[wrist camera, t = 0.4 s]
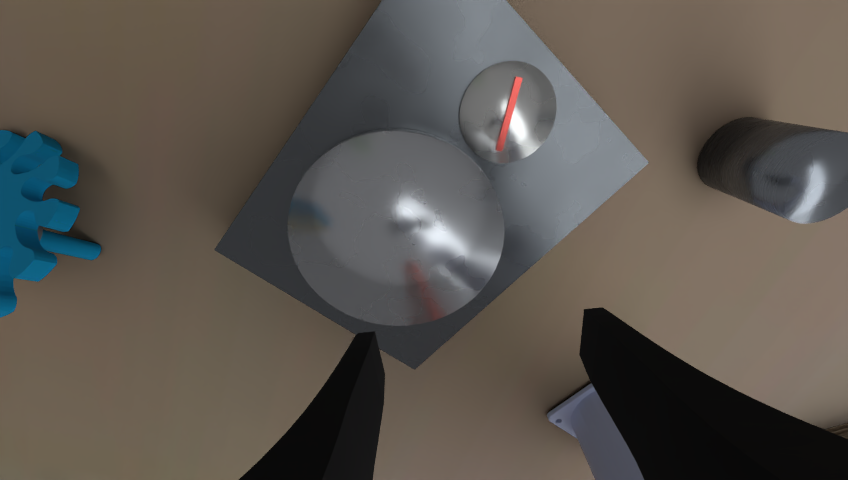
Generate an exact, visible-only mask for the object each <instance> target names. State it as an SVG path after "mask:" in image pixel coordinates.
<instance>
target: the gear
mask: <svg viewBox="0 0 848 480" xmlns="http://www.w3.org/2000/svg"><path fill="white" fill-rule="evenodd" d="M61 154H62V148H61V146H60V144H59V143H58V142H57V141H56V140H54V139H52V138H50V137H48V136H46V135H43V134H41V133H39V132H37V131H34V132H32V133H31V134H29V135H28V136H27V137H26V138H24V137H21V136H19V135H17V134H15V133H12V132H10V131H7V130H0V317H3V316H6V315H8V314H10V313H12V312H14V310H15V308H16V304H17V297H16V295H15V293H14V288H13V279H14V278H17V279H23V280H30V281H37V282H38V281H40V280H41V279H43V278H44V277H45V276H46V275H47V274H48V273H49V272H50V271H51V270H52V269H53V268H54V267H55V266H56V264H57V257H56V256H55V255H54V254H53V253H49V252H47V251H50V252H55V253H60V254H64V255H69V256H74V257H78V258H83V259H88V260H94V259H96V258H97V257H98V256H99V254H100V252H101V246H100V245H99V244H96V243H92V242H88V241H85V240H81V239H77V238H73V237H69V236H65V235H62V234H58V233H54V232H50V231H46V230H43V227H46V228H50V229H54V230H58V231H61V232H67V231H69V230H70V228H71V227H72V226H73V224H74V222H75V220H76V218H77V216H78V213H79V211H80V208H79V207H78V206H76V205H73V204H70V203H67V202H64V201H61V200H58V199H55V198H52V199H48V200H46V201H43V199H42V198H43V194H44V192H45V190H46V189H47V188H48V187H49V186H51V185H56V186H59V187H62V188H65V189H67V188H71V187H73V186H74V185H75V184H77V181H78V176H79V167H78V164H77V163H74V162H72V161H70V160H67V159H65V158H63V157H61V156H60V155H61ZM39 165H40V166H39ZM38 166H39V167H38ZM42 226H43V227H42Z"/></svg>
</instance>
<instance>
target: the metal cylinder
mask: <svg viewBox="0 0 848 480" xmlns="http://www.w3.org/2000/svg"><path fill="white" fill-rule="evenodd" d="M697 170H698V175H699V177H700V179H701V180H702V181H703V182H704V183H705V184H706V185H707V186H709V187H712V188H714V189H716V190H719V191H721V192H724V193H726V194H728V195H731V196H733V197H736V198H738V199H740V200H743V201H745V202H748V203H750V204H752V205H755V206H757V207H759V208H762V209H764V210H767V211H769V212H771V213H774V214H776V215H779V216H781V217H783V218H786V219H788V220H791V221H793V222H797V223H815V222H819V221H822V220H825V219H828V218H830V217H832V216H834V215H836V214H838V213H840V212H842V211H843V210H845V209H846V208H848V133H847V132H840V131H834V130H828V129H822V128H815V127H809V126H803V125H797V124H791V123H784V122H778V121H772V120H766V119H760V118H753V117H745V118H740V119H736V120H734V121H731V122H729V123H727V124H725V125H724V126H722V127H721V128H719V129H718V130H717V131H716V132H715V133H714V134H712V136H711V137H710V138H709V139H708V140H707V142H706V143H705V144H704V146H703V148H702V150H701V152H700V155H699V158H698V163H697Z"/></svg>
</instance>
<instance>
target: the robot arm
mask: <svg viewBox="0 0 848 480" xmlns="http://www.w3.org/2000/svg"><path fill="white" fill-rule="evenodd" d="M580 357H581V359H582V362H583V364H584V367H585V369H586V372H587V374H588V376H589V379H590V381H591V384H589V385H588V386H586V387H585V388H583V389H582V390H580V391H579V392H578V393H576V394H575V395H573V396H572V397H570V398H569V399H567V400H566V401H564V402H563V403H562V404H560V405H559V406H557V407H556V408H554V409H553V410H551V411H550V412H549V413H548V414H547V417H548V420H549V421H550V422H552V423H553V424H555V425H556V426H558V427H560V428H561V429H563V430H564V431H566V432H567V433H569V434H571V435H572V436H574V437H575V438H577V439H578V441H579V443H580V446H581V448H582V450H583V453H584V455H585V457H586V460H587V462H588V464H589V466H590V469H591V471H592V473H593V476H594V478H595V480H848V439H847V438H844V437H842V436H839V435H837V434H834V433H832V432H829V431H827V430H824V429H822V428H819V427H816V426H814V425H811V424H809V423H807V422H804V421H802V420H800V419H797V418H795V417H793V416H790V415H788V414H786V413H783V412H781V411H779V410H777V409H775V408H772V407H770V406H768V405H766V404H764V403H762V402H759V401H757V400H755V399H753V398H751V397H749V396H747V395H745V394H743V393H741V392H739V391H737V390H735V389H733V388H731V387H729V386H727V385H725V384H723V383H721V382H720V381H718V380H716V379H714V378H712V377H710V376H708V375H707V374H705V373H703V372H701V371H699V370H698V369H696V368H694V367H693V366H691V365H689V364H688V363H686V362H684V361H683V360H681V359H679V358H678V357H676V356H674V355H673V354H671V353H670V352H668V351H666V350H665V349H663V348H662V347H660V346H659V345H657V344H656V343H654V342H653V341H651V340H650V339H648V338H647V337H645V336H644V335H642V334H641V333H639V332H638V331H636V330H635V329H633V328H632V327H630V326H629V325H628V324H626V323H625V322H623V321H622V320H620V319H619V318H617V317H616V316H615V315H613V314H612V313H610V312H609V311H607V310H606V309H604V308H592V309H584V316H583V326H582V335H581V345H580ZM384 385H385V373H384V368H383V364H382V359H381V355H380V351H379V346H378V342H377V338H376V333H375V331H373V332H363V333H357V335H356V336H355V337H354V339H353V341H352V342H351V344H350V346H349V347H348V349H347V351H346V352H345V354H344V356H343V357H342V359H341V360H340V362H339V364H338V365H337V367H336V368H335V370H334V371H333V373H332V374H331V376H330V377H329V379H328V380H327V382H326V383H325V384H324V386H323V387H322V389H321V390H320V391H319V393H318V394H317V395H316V397H315V398H314V399H313V401H312V402H311V403H310V405H309V406H308V407H307V408H306V410H305V411H304V412H303V413H302V415H301V416H300V417H299V418H298V420H297V421H296V422H295V423H294V424H293V425H292V426H291V428H290V429H289V430H288V431H287V432H286V433H285V434H284V435H283V436H282V438H281V439H280V440H279V441H278V442H277V443H276V444H275V445H274V446H273V447H272V448H271V449H270V450H269V451H268V452H267V453H266V454H265V455H264V456H263V457H262V458H261V459H260V460H259V461H258V462H257V463H256V464H255V465H254V466H253V467H252V468H251V469H250V470H249V471H248V472H246V473H245V474H244V475H243V476H242V477H241V478H240V479H239V480H373V472H374V465H375V458H376V451H377V445H378V438H379V432H380V425H381V419H382V412H383V405H384Z"/></svg>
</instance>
